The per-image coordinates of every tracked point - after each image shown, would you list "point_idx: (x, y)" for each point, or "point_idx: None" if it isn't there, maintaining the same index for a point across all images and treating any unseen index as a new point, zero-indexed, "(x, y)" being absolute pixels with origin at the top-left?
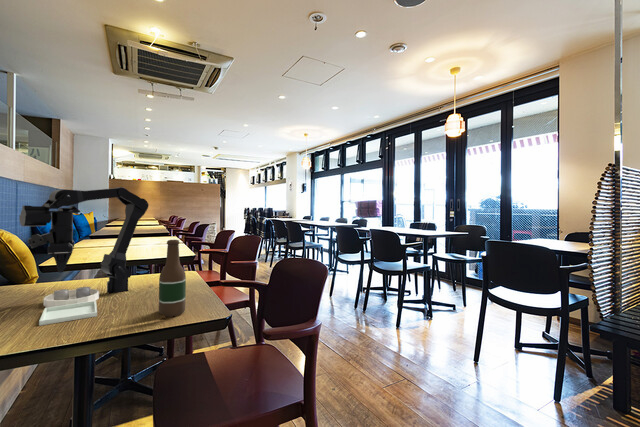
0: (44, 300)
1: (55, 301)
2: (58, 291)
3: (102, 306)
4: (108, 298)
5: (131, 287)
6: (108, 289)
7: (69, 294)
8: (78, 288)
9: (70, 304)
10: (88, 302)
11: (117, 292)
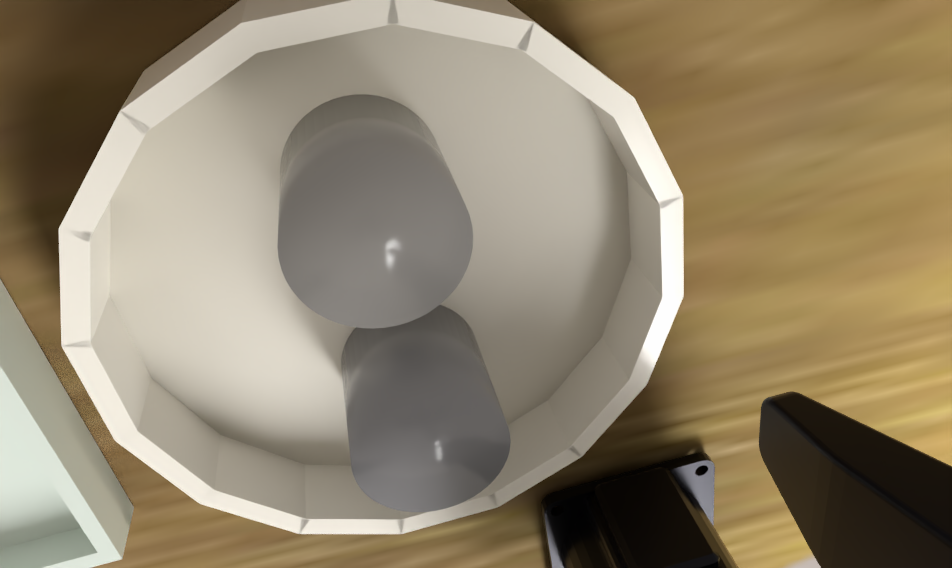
0: (210, 41)
1: (62, 228)
2: (336, 223)
3: (128, 550)
4: None
5: (774, 564)
6: (605, 521)
7: (636, 192)
8: (440, 408)
9: (4, 384)
10: (73, 514)
11: (563, 555)
